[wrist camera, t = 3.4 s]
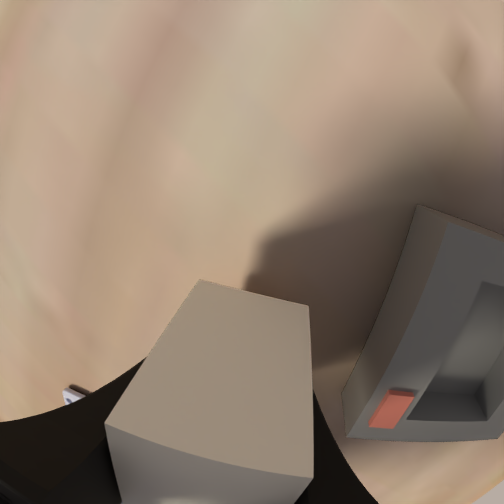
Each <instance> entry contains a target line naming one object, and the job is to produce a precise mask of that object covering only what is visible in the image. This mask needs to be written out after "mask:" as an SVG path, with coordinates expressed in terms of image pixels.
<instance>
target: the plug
mask: <svg viewBox="0 0 504 504" xmlns="http://www.w3.org/2000/svg"><path fill="white" fill-rule="evenodd" d="M104 424H105V430H106V435H107V440H108V445H109V450H110V454H111V459H112V463H113V468H114V472H115V476H116V480H117V484H118V487H119V491H120V495H121V498H122V502H123V504H294V503H295V501H296V500H297V499H298V498H299V496H300V495H301V494H302V492H303V491H304V490H305V489H306V487H307V486H308V485H309V483H310V482H311V481H312V479H313V468H314V444H313V388H312V360H311V338H310V319H309V306H308V305H303V304H299V303H295V302H290V301H286V300H282V299H277V298H273V297H269V296H265V295H261V294H256V293H252V292H248V291H244V290H240V289H236V288H232V287H228V286H224V285H220V284H216V283H212V282H208V281H204V280H201V279H199V280H198V282H197V283H196V285H195V286H194V288H193V289H192V291H191V292H190V293H189V295H188V296H187V298H186V299H185V301H184V302H183V304H182V305H181V307H180V308H179V310H178V311H177V313H176V314H175V316H174V317H173V319H172V320H171V322H170V323H169V325H168V326H167V328H166V329H165V330H164V332H163V333H162V335H161V336H160V338H159V339H158V341H157V342H156V344H155V346H154V347H153V349H152V350H151V352H150V353H149V355H148V356H147V358H146V359H145V361H144V362H143V364H142V365H141V367H140V368H139V370H138V371H137V373H136V374H135V376H134V377H133V379H132V381H131V382H130V384H129V385H128V387H127V388H126V390H125V391H124V393H123V394H122V396H121V398H120V399H119V401H118V402H117V404H116V405H115V407H114V408H113V410H112V412H111V413H110V415H109V416H108V418H107V419H106V421H105V423H104Z"/></svg>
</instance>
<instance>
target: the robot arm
mask: <svg viewBox="0 0 504 504" xmlns="http://www.w3.org/2000/svg"><path fill="white" fill-rule="evenodd" d="M146 358H147V357H146ZM146 358H145V359H146ZM145 359H143V360H142V361H141V362H139V363H138V364H137V365H135V366H134V367H132V368H131V369H130V370H128V371H127V372H125V373H124V374H122V375H121V376H119V377H118V378H116V379H115V380H113V381H112V382H110V383H108V384H107V385H105V386H103V387H102V388H100V389H98V390H96V391H95V392H93V393H91V394H89V395H87V396H85V395H83V394H80V393H78V392H76V391H74V390H72V389H70V388H65V389H64V390H63V396H64V400H65V404H66V405H65V406H62V407H60V408H57V409H55V410H52V411H49V412H46V413H43V414H39V415H35V416H31V417H27V418H23V419H19V420H13V421H7V422H0V504H123V502H122V498H121V495H120V491H119V487H118V484H117V480H116V476H115V472H114V468H113V463H112V459H111V454H110V450H109V445H108V440H107V435H106V430H105V424H104V423H105V421H106V419H107V418H108V416H109V415H110V413H111V412H112V410H113V408H114V407H115V405H116V404H117V402H118V401H119V399H120V398H121V396H122V394H123V393H124V391H125V390H126V388H127V387H128V385H129V384H130V382H131V381H132V379H133V377H134V376H135V374H136V373H137V371H138V370H139V368H140V367H141V365H142V364H143V362H144V361H145ZM313 444H314V468H313V479H312V481H311V482H310V483H309V485H308V486H307V487H306V489H305V490H304V491H303V492H302V494H301V495H300V496H299V498H298V499H297V500H296V501H295V503H294V504H379V503H378V502H377V501H376V500H375V499H374V498H373V497H372V495H371V494H370V493H369V492H368V491H367V490H366V488H365V487H364V486H363V484H362V483H361V482H360V481H359V479H358V478H357V476H356V475H355V473H354V472H353V471H352V469H351V467H350V466H349V464H348V463H347V461H346V459H345V458H344V456H343V454H342V453H341V451H340V449H339V447H338V445H337V443H336V441H335V440H334V438H333V435H332V433H331V431H330V429H329V427H328V425H327V423H326V421H325V418H324V416H323V414H322V411H321V409H320V406H319V404H318V401H317V399H316V396H315V393H314V390H313Z"/></svg>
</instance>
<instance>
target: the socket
mask: <svg viewBox="0 0 504 504" xmlns="http://www.w3.org/2000/svg"><path fill="white" fill-rule="evenodd" d="M341 396H342V404H343V413H344V422H345V431H346V437H349V438H359V439H371V440H385V441H407V442H453V441H475V440H488V439H498V438H499V436H500V435H501V434H502V433H503V432H504V236H503V235H501V234H498V233H496V232H493V231H491V230H488V229H486V228H483V227H480V226H478V225H475V224H473V223H470V222H467V221H465V220H462V219H459V218H456V217H454V216H451V215H448V214H445V213H442V212H439V211H437V210H434V209H431V208H428V207H425V206H422V205H419V204H417V206H416V210H415V213H414V217H413V220H412V223H411V226H410V229H409V233H408V236H407V239H406V242H405V245H404V248H403V251H402V254H401V256H400V259H399V262H398V265H397V268H396V270H395V273H394V276H393V279H392V281H391V284H390V286H389V289H388V292H387V294H386V297H385V299H384V302H383V304H382V307H381V309H380V312H379V314H378V316H377V319H376V321H375V324H374V326H373V328H372V330H371V333H370V335H369V337H368V340H367V342H366V344H365V346H364V348H363V351H362V353H361V355H360V357H359V359H358V361H357V363H356V365H355V368H354V370H353V372H352V374H351V376H350V378H349V380H348V382H347V384H346V386H345V388H344V390H343V392H342V394H341Z"/></svg>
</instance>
